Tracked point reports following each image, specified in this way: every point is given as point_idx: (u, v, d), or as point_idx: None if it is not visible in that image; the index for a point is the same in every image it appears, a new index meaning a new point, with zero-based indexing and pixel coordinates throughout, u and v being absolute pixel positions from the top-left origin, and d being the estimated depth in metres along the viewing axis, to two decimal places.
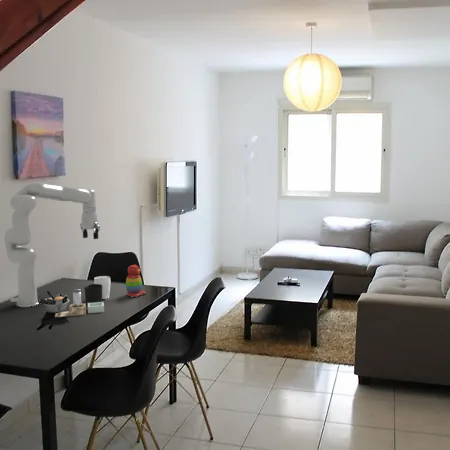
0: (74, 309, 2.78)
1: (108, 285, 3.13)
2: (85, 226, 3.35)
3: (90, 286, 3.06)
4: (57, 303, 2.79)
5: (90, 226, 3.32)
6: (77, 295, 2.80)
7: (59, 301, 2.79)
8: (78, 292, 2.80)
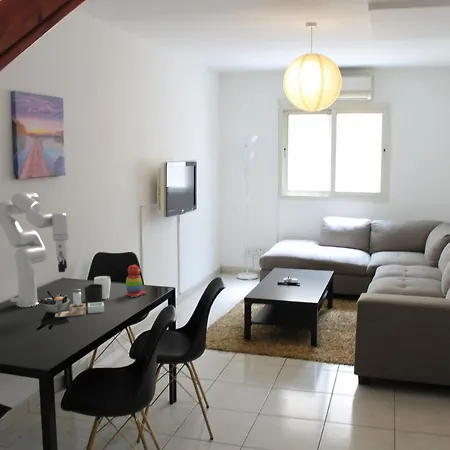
0: (74, 309, 2.78)
1: (108, 285, 3.13)
2: (67, 255, 2.84)
3: (90, 286, 3.06)
4: (57, 303, 2.79)
5: None
6: (77, 295, 2.80)
7: (59, 301, 2.79)
8: (78, 292, 2.80)
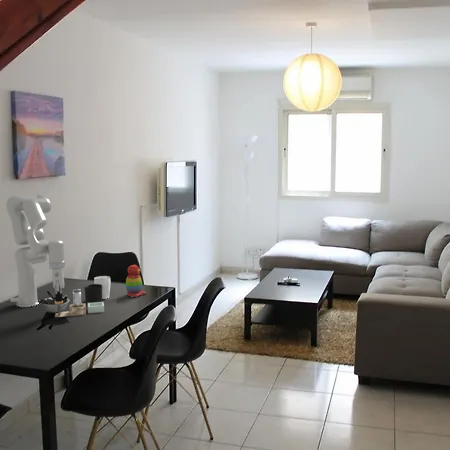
0: (74, 309, 2.78)
1: (108, 285, 3.13)
2: None
3: (90, 286, 3.06)
4: (57, 306, 2.79)
5: None
6: (77, 295, 2.80)
7: (59, 304, 2.79)
8: (78, 292, 2.80)
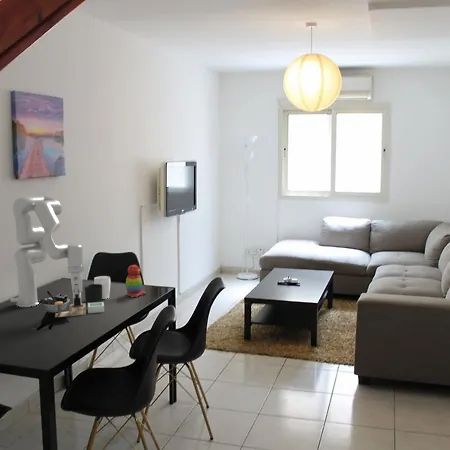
0: (74, 309, 2.78)
1: (108, 285, 3.13)
2: (82, 287, 2.81)
3: (90, 286, 3.06)
4: (57, 308, 2.79)
5: None
6: None
7: None
8: None
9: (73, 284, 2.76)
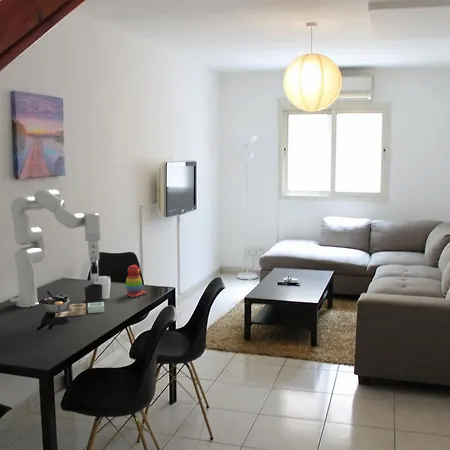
0: (74, 309, 2.78)
1: (108, 285, 3.13)
2: None
3: (90, 286, 3.06)
4: (57, 308, 2.79)
5: None
6: None
7: None
8: None
9: (90, 252, 2.78)
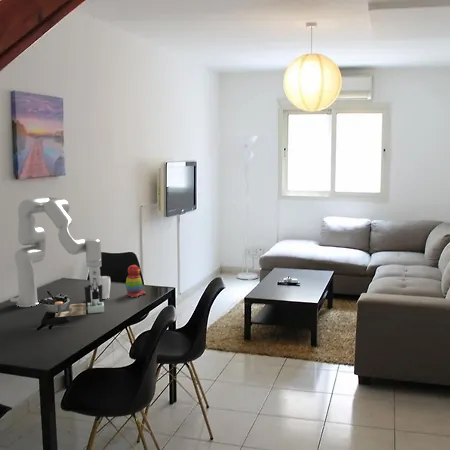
0: (74, 309, 2.78)
1: (108, 285, 3.13)
2: None
3: (90, 286, 3.06)
4: (57, 308, 2.79)
5: None
6: None
7: None
8: None
9: (91, 278, 2.80)
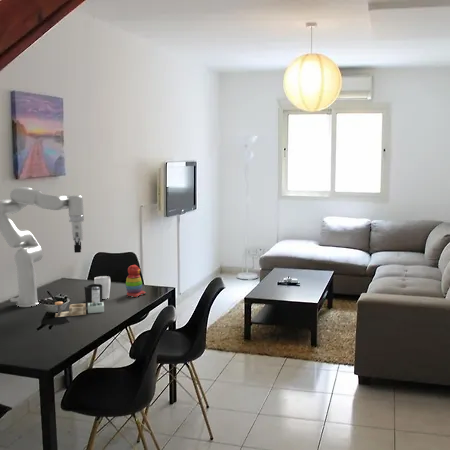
0: (74, 309, 2.78)
1: (108, 285, 3.13)
2: None
3: (90, 286, 3.06)
4: (57, 308, 2.79)
5: None
6: (96, 293, 2.84)
7: None
8: (97, 290, 2.84)
9: (74, 232, 2.88)
